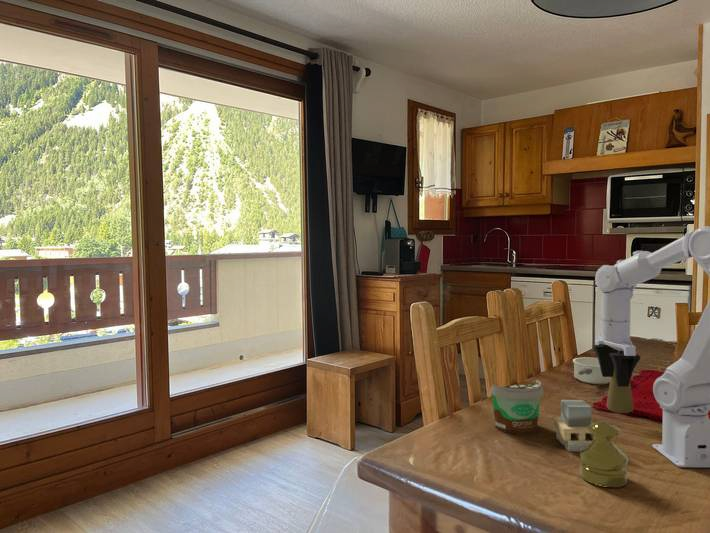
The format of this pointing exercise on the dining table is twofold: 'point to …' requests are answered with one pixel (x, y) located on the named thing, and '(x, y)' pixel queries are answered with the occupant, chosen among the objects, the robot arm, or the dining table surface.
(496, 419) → the food container
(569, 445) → the dock
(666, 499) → the dining table surface
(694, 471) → the dining table surface
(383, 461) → the dining table surface
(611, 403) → the cork
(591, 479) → the olive shiny rounded piece
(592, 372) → the saucepan
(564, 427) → the stacked blocks
